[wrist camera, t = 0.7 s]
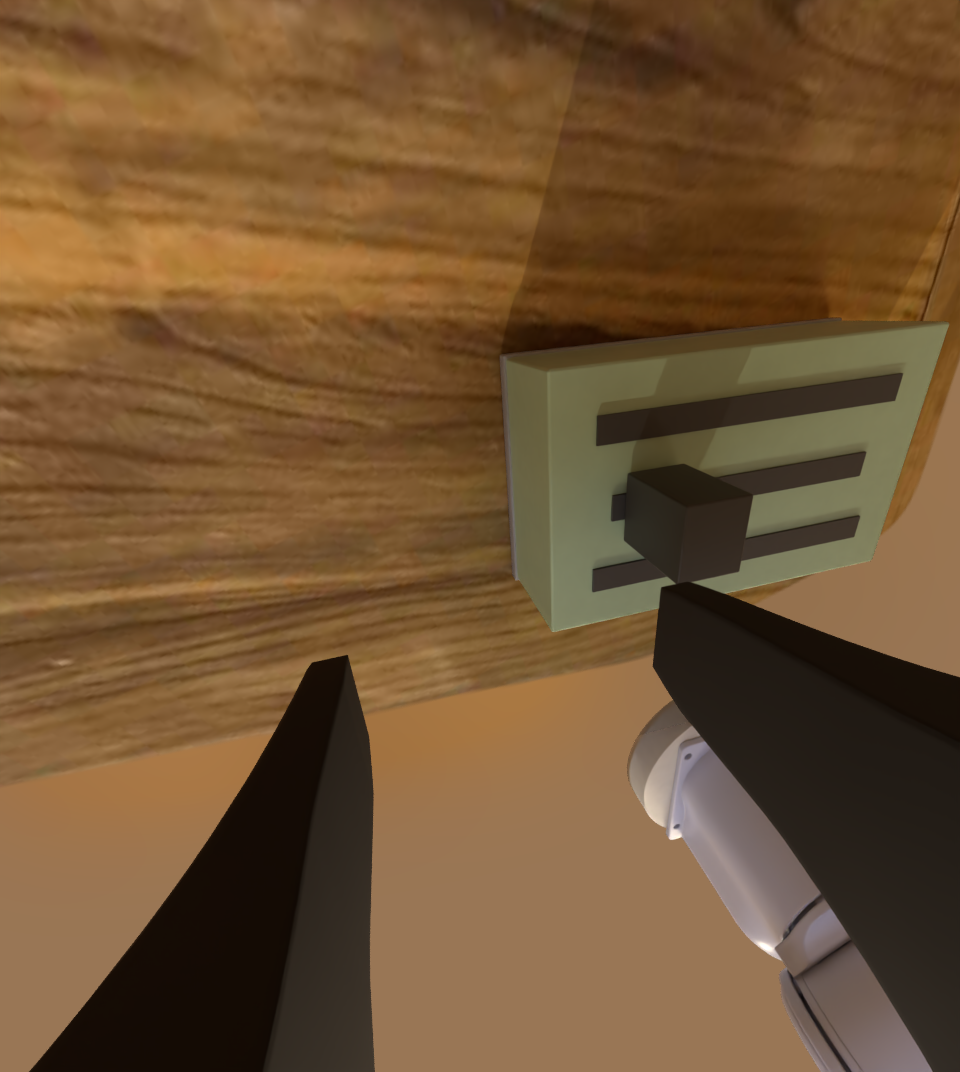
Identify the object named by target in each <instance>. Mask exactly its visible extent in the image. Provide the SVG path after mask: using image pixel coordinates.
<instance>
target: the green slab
mask: <svg viewBox="0 0 960 1072" xmlns="http://www.w3.org/2000/svg"><path fill="white" fill-rule="evenodd" d="M841 320H842V318H824V319H815V320H806V321H797V322H788V323H779V324H770V325H761V326H752V327H743V328H734V329H725V330H716V331H707V332H698V333H688V334H679V335H670V336H661V337H652V338H643V339H634V340H625V341H616V342H607V343H598V344H589V345H580V346H571V347H562V348H553V349H544V350H535V351H526V352H517V353H508V354H501V355H500V370H501V387H502V404H503V421H504V438H505V455H506V472H507V489H508V506H509V523H510V540H511V556H512V573H513V577H514V578H515V580H520V581H521V583H522V585H523V586H524V588H525V589H526V591H527V593H528V594H529V596H530V597H531V599H532V600H533V602H534V604H535V605H536V607H537V608H538V610H539V612H540V613H541V615H542V616H543V618H544V620H545V621H546V623H547V624H548V626H549V628H550V629H551V631H552V632H556V631H560V630H565V629H569V628H574V627H578V626H583V625H587V624H592V623H596V622H600V621H605V620H609V619H614V618H618V617H623V616H627V615H632V614H636V613H640V612H645V611H649V610H654V609H658V608H659V601H660V591H661V587H664V586H669V585H674V584H675V583H674V582H673V581H672V580H671V579H669V578H668V577H667V576H666V575H665V574H663V573H662V572H661V571H660V570H659V569H657V568H656V567H655V566H654V565H653V564H651V563H650V562H649V561H648V560H646V559H645V558H644V557H643V556H642V555H640V554H639V553H638V552H637V551H636V550H634V549H633V548H632V547H631V546H630V545H628V544H627V543H626V542H625V541H624V527H625V510H626V493H627V476H628V473H630V472H636V471H642V470H648V469H654V468H660V467H666V466H672V465H678V464H686V465H688V466H691V467H693V468H695V469H697V470H700V471H702V472H704V473H706V474H709V475H711V476H713V477H715V478H718V479H720V480H722V481H724V482H727V483H729V484H731V485H733V486H736V487H738V488H740V489H742V490H745V491H747V492H749V493H751V494H753V501H752V507H751V512H750V517H749V523H748V528H747V533H746V539H745V544H744V549H743V555H742V560H741V565H740V571H739V572H737V573H732V574H728V575H723V576H718V577H714V578H709V579H705V580H700V581H695V582H692V583H695V584H698V585H701V586H704V587H707V588H710V589H713V590H715V591H718V592H721V593H723V594H725V593H729V592H734V591H738V590H743V589H747V588H752V587H756V586H761V585H765V584H770V583H774V582H778V581H783V580H787V579H792V578H796V577H801V576H805V575H810V574H814V573H818V572H823V571H827V570H832V569H836V568H841V567H845V566H849V565H854V564H859V563H863V562H867V561H871V560H872V558H873V555H874V552H875V549H876V546H877V543H878V540H879V537H880V534H881V531H882V528H883V525H884V522H885V519H886V515H887V512H888V509H889V506H890V503H891V500H892V497H893V494H894V491H895V488H896V485H897V482H898V479H899V476H900V473H901V470H902V467H903V464H904V460H905V457H906V454H907V451H908V448H909V445H910V442H911V439H912V436H913V433H914V430H915V427H916V424H917V421H918V418H919V415H920V412H921V409H922V406H923V402H924V399H925V396H926V393H927V390H928V387H929V384H930V381H931V378H932V375H933V372H934V369H935V366H936V363H937V360H938V357H939V354H940V351H941V347H942V344H943V341H944V338H945V335H946V332H947V329H948V326H949V323H948V322H940V321H841Z"/></svg>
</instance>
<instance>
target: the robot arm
mask: <svg viewBox="0 0 960 1072" xmlns="http://www.w3.org/2000/svg"><path fill="white" fill-rule="evenodd" d="M653 668H654V669H655V671H656V673H657V674H658V676H659V678H660V679H661V681H662V683H663V684H664V686H665V688H666V689H667V691H668V692H669V694H670V696H671V697H672V699H673V700H674V702H675V703H676V705H677V706H678V708H679V709H680V711H681V712H682V713H683V715H684V716H685V717H686V719H687V720H688V721H689V722H690V724H691V725H692V726H693V727H694V729H695V730H696V731H697V732H698V733H699V735H700V736H701V737H698V738H694V739H691V740H687V741H684V742H683V743H681V745H680V746H679V749H678V756H677V763H676V769H675V776H674V783H673V789H672V796H671V803H670V809H669V816H668V822H667V829H666V835H667V836H668V838H669V839H671V840H674V839H677V838H680V837H683V839H684V841H685V842H686V844H687V845H688V847H689V849H690V850H691V852H692V853H693V855H694V856H695V858H696V860H697V861H698V863H699V865H700V866H701V868H702V869H703V871H704V872H705V874H706V876H707V877H708V879H709V880H710V882H711V884H712V885H713V887H714V888H715V890H716V892H717V893H718V895H719V896H720V898H721V900H722V901H723V903H724V904H725V906H726V907H727V909H728V911H729V912H730V914H731V915H732V917H733V918H734V920H735V922H736V923H737V924H738V926H739V927H740V929H741V930H742V931H743V932H744V934H745V935H746V936H747V937H748V938H749V939H750V940H751V941H752V942H753V943H755V944H756V945H757V946H758V947H759V948H761V949H762V950H764V951H765V952H767V953H768V954H770V955H771V956H773V957H774V958H776V959H779V960H781V961H783V963H784V964H785V966H786V968H785V969H783V970H782V971H781V972H780V974H779V980H780V984H781V998H782V1001H783V1004H784V1006H785V1009H786V1011H787V1014H788V1016H789V1018H790V1020H791V1022H792V1024H793V1026H794V1027H795V1029H796V1031H797V1033H798V1035H799V1037H800V1038H801V1040H802V1042H803V1044H804V1045H805V1047H806V1049H807V1050H808V1052H809V1054H810V1055H811V1057H812V1058H813V1060H814V1062H815V1063H816V1065H817V1067H818V1068H819V1070H820V1071H821V1072H960V677H957V676H953V675H950V674H946V673H943V672H939V671H936V670H933V669H930V668H926V667H923V666H920V665H917V664H913V663H910V662H907V661H904V660H901V659H898V658H895V657H892V656H889V655H886V654H883V653H880V652H877V651H874V650H871V649H869V648H866V647H863V646H860V645H857V644H854V643H851V642H848V641H845V640H843V639H840V638H837V637H835V636H832V635H829V634H827V633H824V632H821V631H819V630H816V629H813V628H810V627H808V626H805V625H803V624H800V623H798V622H795V621H792V620H790V619H787V618H785V617H782V616H780V615H777V614H775V613H772V612H770V611H767V610H764V609H762V608H759V607H757V606H754V605H752V604H749V603H747V602H744V601H742V600H739V599H737V598H734V597H731V596H729V595H726V594H723V593H721V592H718V591H715V590H713V589H710V588H707V587H704V586H701V585H698V584H695V583H692V582H688V581H687V582H683V583H678V584H674V585H669V586H664V587H661V591H660V601H659V611H658V620H657V630H656V639H655V649H654V659H653ZM372 839H373V779H372V766H371V755H370V743H369V735H368V731H367V727H366V724H365V720H364V716H363V712H362V708H361V704H360V700H359V697H358V693H357V689H356V685H355V681H354V677H353V674H352V670H351V666H350V662H349V658H348V655H345V656H340V657H336V658H331V659H327V660H322V661H317V662H313V663H312V664H311V665H310V666H309V668H308V669H307V671H306V673H305V675H304V677H303V679H302V681H301V683H300V685H299V687H298V689H297V691H296V693H295V695H294V697H293V699H292V701H291V702H290V704H289V706H288V708H287V710H286V712H285V714H284V716H283V717H282V719H281V721H280V723H279V725H278V727H277V729H276V730H275V732H274V734H273V736H272V737H271V739H270V741H269V743H268V744H267V746H266V748H265V750H264V751H263V753H262V755H261V756H260V758H259V760H258V762H257V763H256V765H255V767H254V769H253V770H252V772H251V773H250V775H249V777H248V778H247V780H246V782H245V784H244V785H243V787H242V788H241V790H240V791H239V793H238V794H237V796H236V797H235V799H234V800H233V802H232V804H231V805H230V807H229V808H228V810H227V811H226V813H225V815H224V816H223V818H222V819H221V821H220V822H219V824H218V825H217V827H216V829H215V830H214V832H213V833H212V835H211V836H210V838H209V839H208V841H207V842H206V844H205V845H204V847H203V848H202V849H201V851H200V852H199V854H198V855H197V857H196V858H195V860H194V861H193V863H192V864H191V865H190V867H189V868H188V870H187V871H186V873H185V874H184V875H183V877H182V878H181V880H180V881H179V882H178V884H177V885H176V886H175V888H174V889H173V890H172V892H171V893H170V895H169V896H168V897H167V899H166V900H165V901H164V903H163V904H162V906H161V907H160V908H159V910H158V911H157V912H156V914H155V915H154V916H153V918H152V919H151V920H150V922H149V923H148V924H147V926H146V927H145V928H144V930H143V931H142V932H141V934H140V935H139V936H138V937H137V939H136V940H135V941H134V943H133V944H132V945H131V946H130V948H129V949H128V950H127V951H126V953H125V954H124V955H123V957H122V958H121V959H120V961H119V962H118V963H117V964H116V966H115V967H114V968H113V969H112V971H111V972H110V973H109V974H108V976H107V977H106V978H105V980H104V981H103V982H102V983H101V985H100V986H99V987H98V989H97V990H96V991H95V992H94V994H93V995H92V996H91V998H90V999H89V1000H88V1001H87V1003H86V1004H85V1005H84V1006H83V1007H82V1009H81V1010H80V1011H79V1012H78V1014H77V1015H76V1016H75V1017H74V1018H73V1020H72V1021H71V1022H70V1024H69V1025H68V1026H67V1027H66V1028H65V1030H64V1031H63V1032H62V1033H61V1035H60V1036H59V1037H58V1038H57V1039H56V1041H55V1042H54V1043H53V1044H52V1045H51V1047H50V1048H49V1049H48V1050H47V1051H46V1053H45V1054H44V1055H43V1056H42V1057H41V1059H40V1060H39V1061H38V1062H37V1063H36V1065H35V1066H34V1067H33V1068H32V1069H31V1070H30V1071H29V1072H375V1070H374V1069H375V1068H374V1048H373V1029H372V1011H371V1010H372V1009H371V990H370V913H371V912H370V911H371V874H372Z"/></svg>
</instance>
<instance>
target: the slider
mask: <svg viewBox="0 0 960 1072" xmlns="http://www.w3.org/2000/svg"><path fill="white" fill-rule="evenodd" d="M752 501H753V494H751V493H749V492H747V491H745V490H742V489H740V488H738V487H736V486H733V485H731V484H729V483H727V482H724V481H722V480H720V479H718V478H715V477H713V476H711V475H709V474H706V473H704V472H702V471H700V470H697V469H695V468H693V467H691V466H688V465H686V464H678V465H672V466H666V467H660V468H654V469H648V470H642V471H636V472H630V473H628V476H627V493H626V510H625V527H624V541H625V542H626V543H627V544H628V545H630V546H631V547H632V548H633V549H634V550H636V551H637V552H638V553H639V554H640V555H642V556H643V557H644V558H645V559H646V560H648V561H649V562H650V563H651V564H653V565H654V566H655V567H656V568H657V569H659V570H660V571H661V572H662V573H663V574H665V575H666V576H667V577H668V578H669V579H671V580H672V581H673V582H674V583H675V584H678V583H683V582H687V581H688V582H695V581H700V580H705V579H709V578H714V577H718V576H723V575H728V574H732V573H737V572H739V571H740V565H741V560H742V555H743V549H744V544H745V539H746V533H747V528H748V523H749V517H750V512H751V507H752Z"/></svg>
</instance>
